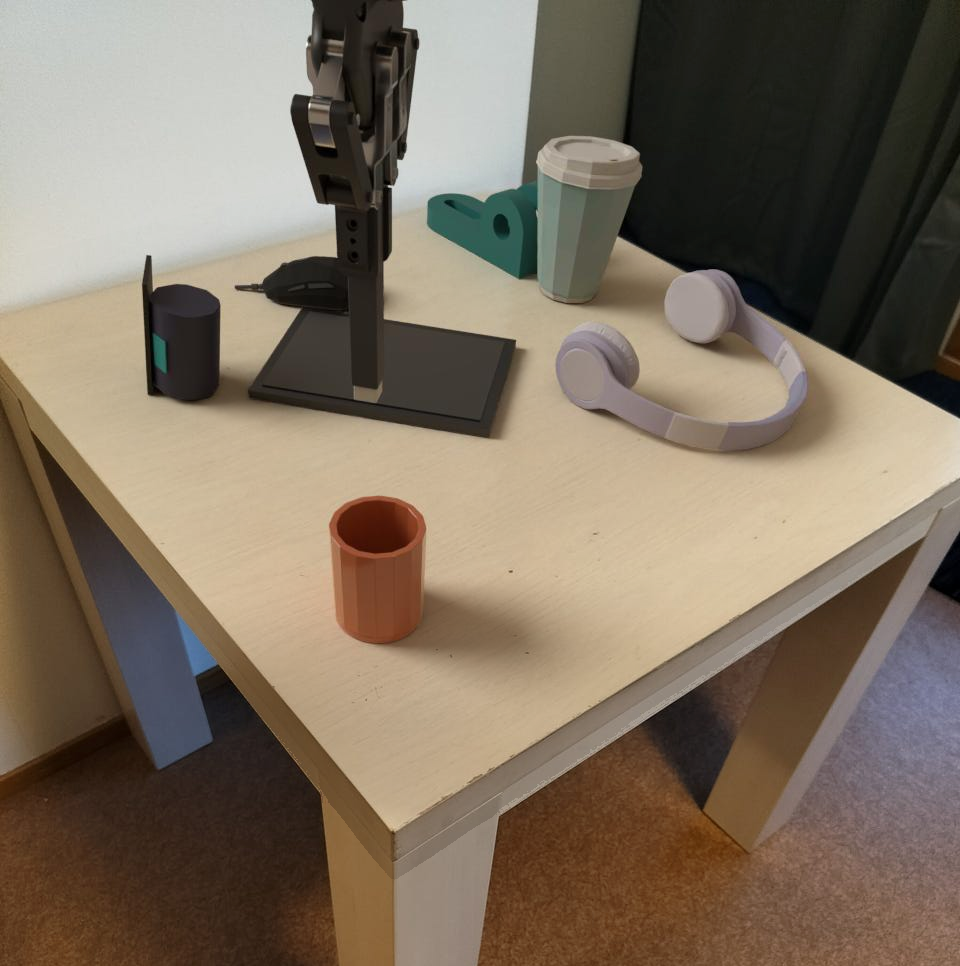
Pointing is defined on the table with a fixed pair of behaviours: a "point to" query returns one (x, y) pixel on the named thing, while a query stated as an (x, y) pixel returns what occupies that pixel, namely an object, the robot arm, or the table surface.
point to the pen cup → (378, 568)
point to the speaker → (180, 338)
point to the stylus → (367, 332)
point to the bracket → (492, 226)
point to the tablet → (390, 373)
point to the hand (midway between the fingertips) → (365, 265)
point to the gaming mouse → (306, 284)
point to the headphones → (698, 318)
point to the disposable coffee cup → (581, 211)
